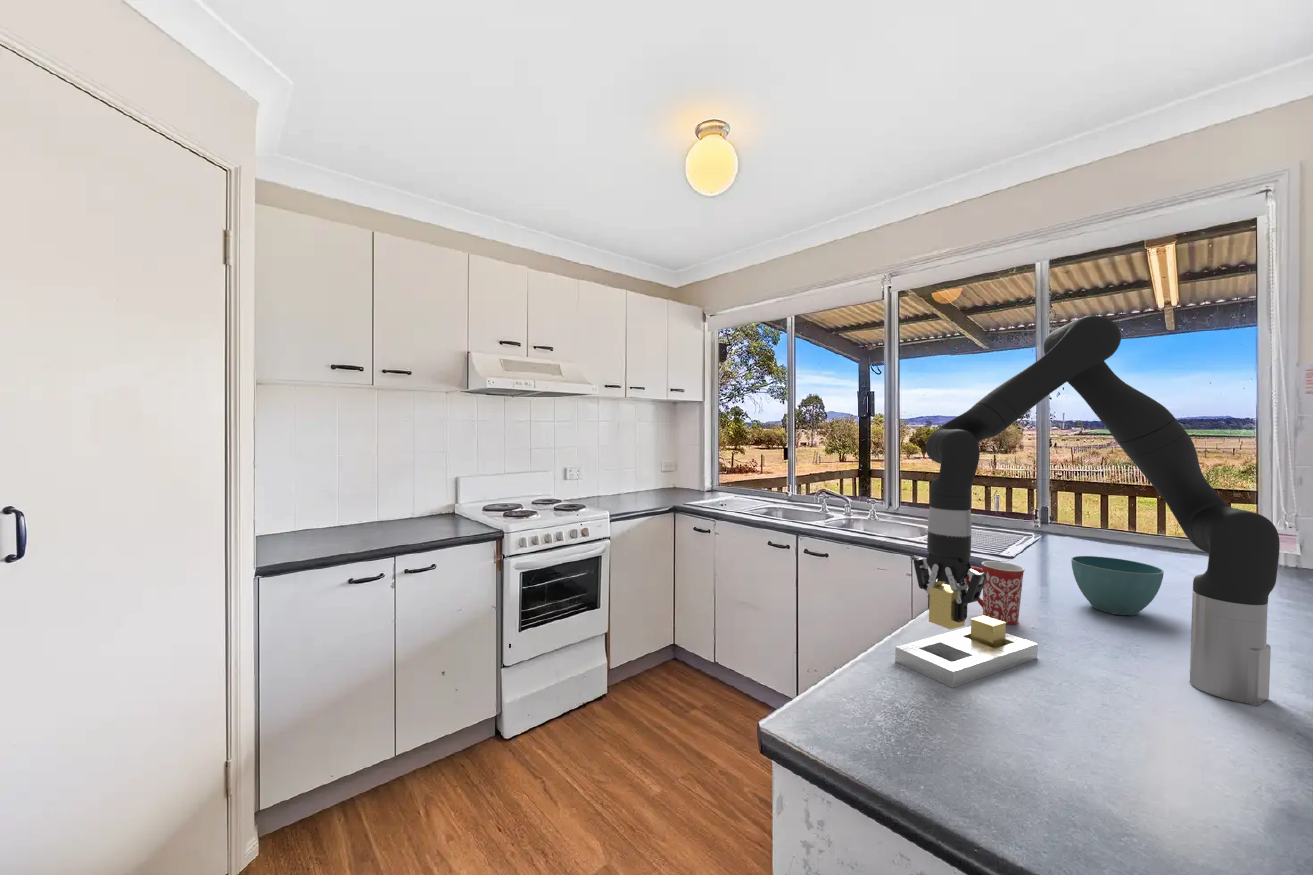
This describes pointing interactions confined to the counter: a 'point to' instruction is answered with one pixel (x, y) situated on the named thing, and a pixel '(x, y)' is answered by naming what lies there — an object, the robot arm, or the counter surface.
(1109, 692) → the counter surface
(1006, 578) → the mug
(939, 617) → the brass block
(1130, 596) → the teal bowl
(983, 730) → the counter surface
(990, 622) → the seated brass block
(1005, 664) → the white socket board
